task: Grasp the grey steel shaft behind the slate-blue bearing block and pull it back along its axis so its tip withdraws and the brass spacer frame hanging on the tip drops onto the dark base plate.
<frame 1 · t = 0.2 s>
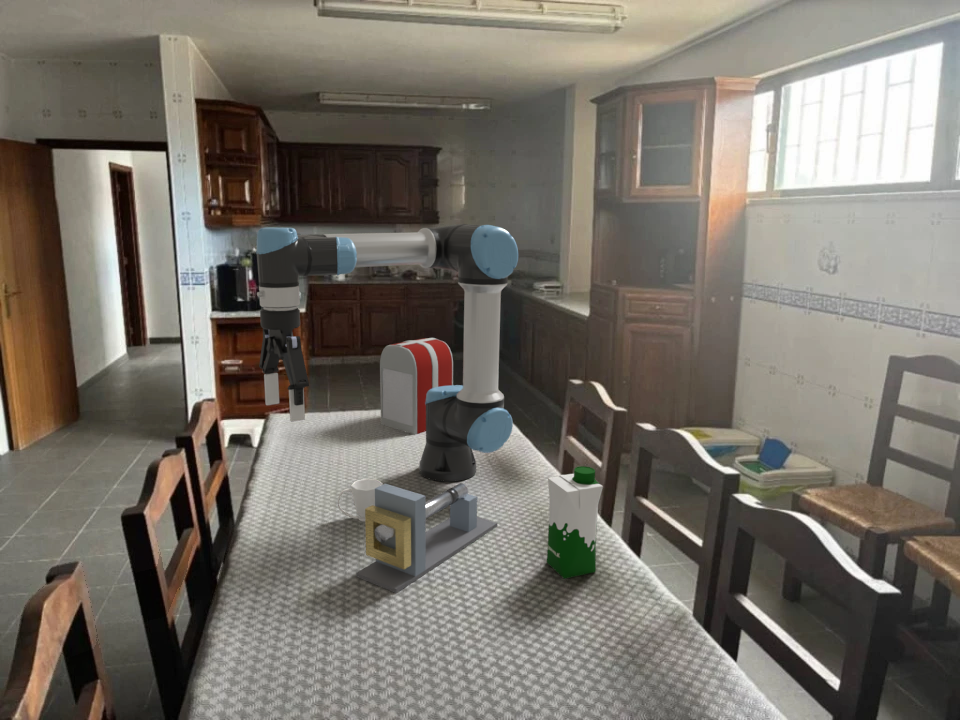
hand: (284, 412, 143), 28 cm above the table, fingers open, 13 cm apart
shaft: (424, 510, 141), point 10 cm above the table, slide at 0.0 cm, touching spacer
milk carton: (570, 568, 139), on the table
red grey striped box: (416, 423, 229), on the table
spacer: (387, 536, 132), point 8 cm above the table, touching shaft
cup: (360, 518, 159), on the table
rig: (400, 569, 137), on the table
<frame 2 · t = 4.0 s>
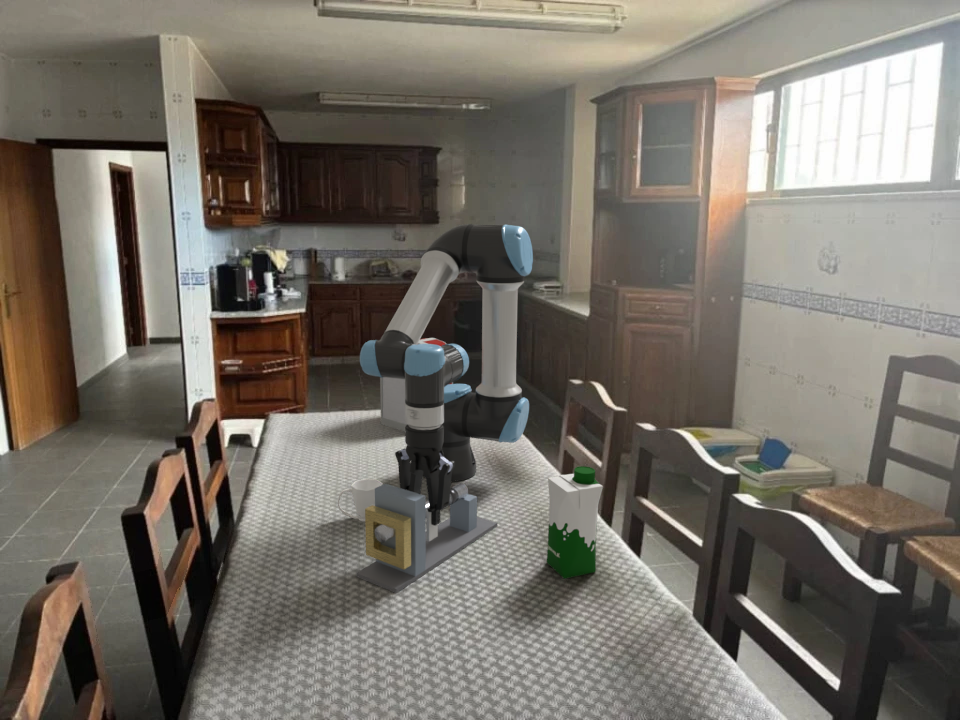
hand: (424, 535, 142), 4 cm above the table, fingers closed on shaft, 3 cm apart
shaft: (424, 510, 141), point 10 cm above the table, slide at 0.0 cm, touching gripper, spacer
everything else where it was.
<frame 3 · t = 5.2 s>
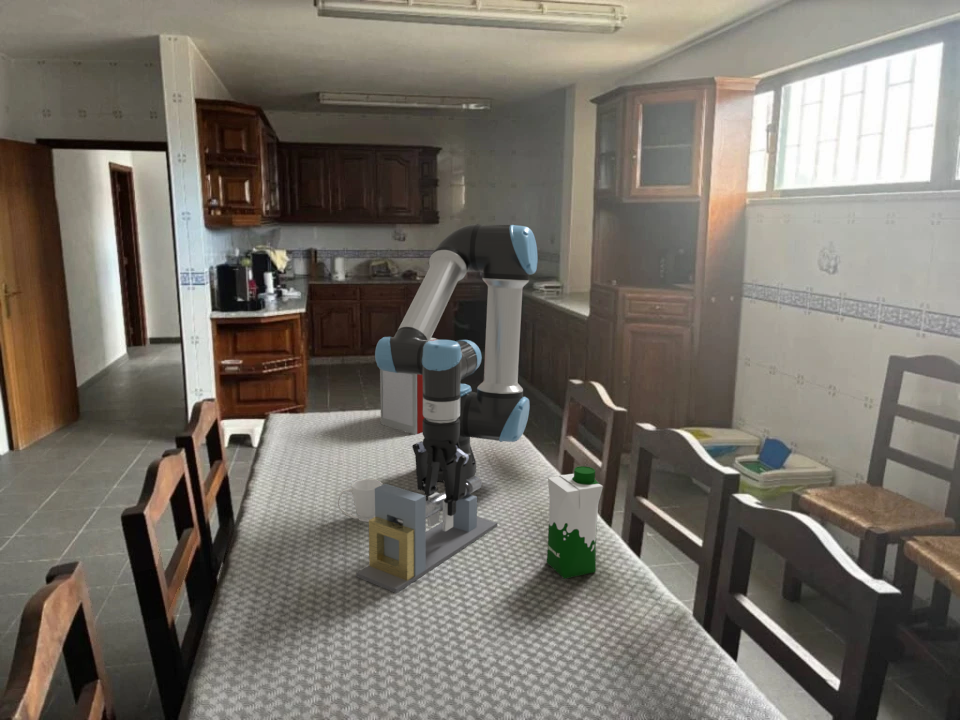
hand: (440, 526, 147), 4 cm above the table, fingers closed on shaft, 3 cm apart
shaft: (440, 502, 145), point 10 cm above the table, slide at 5.2 cm, touching gripper
spacer: (391, 548, 134), point 6 cm above the table, touching rig
everything else where it was.
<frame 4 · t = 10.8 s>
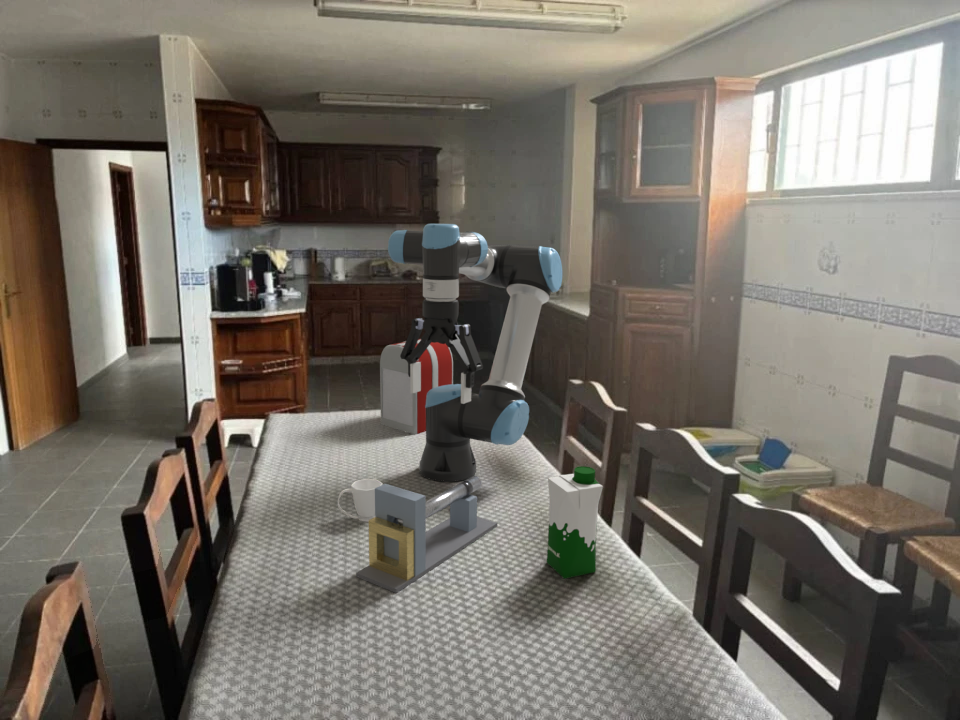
hand: (440, 397, 152), 29 cm above the table, fingers open, 13 cm apart
shaft: (440, 501, 145), point 9 cm above the table, slide at 5.2 cm
everything else where it was.
at the end: shaft slide at 5.2 cm; spacer point 5.5 cm above the table; spacer touching rig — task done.
